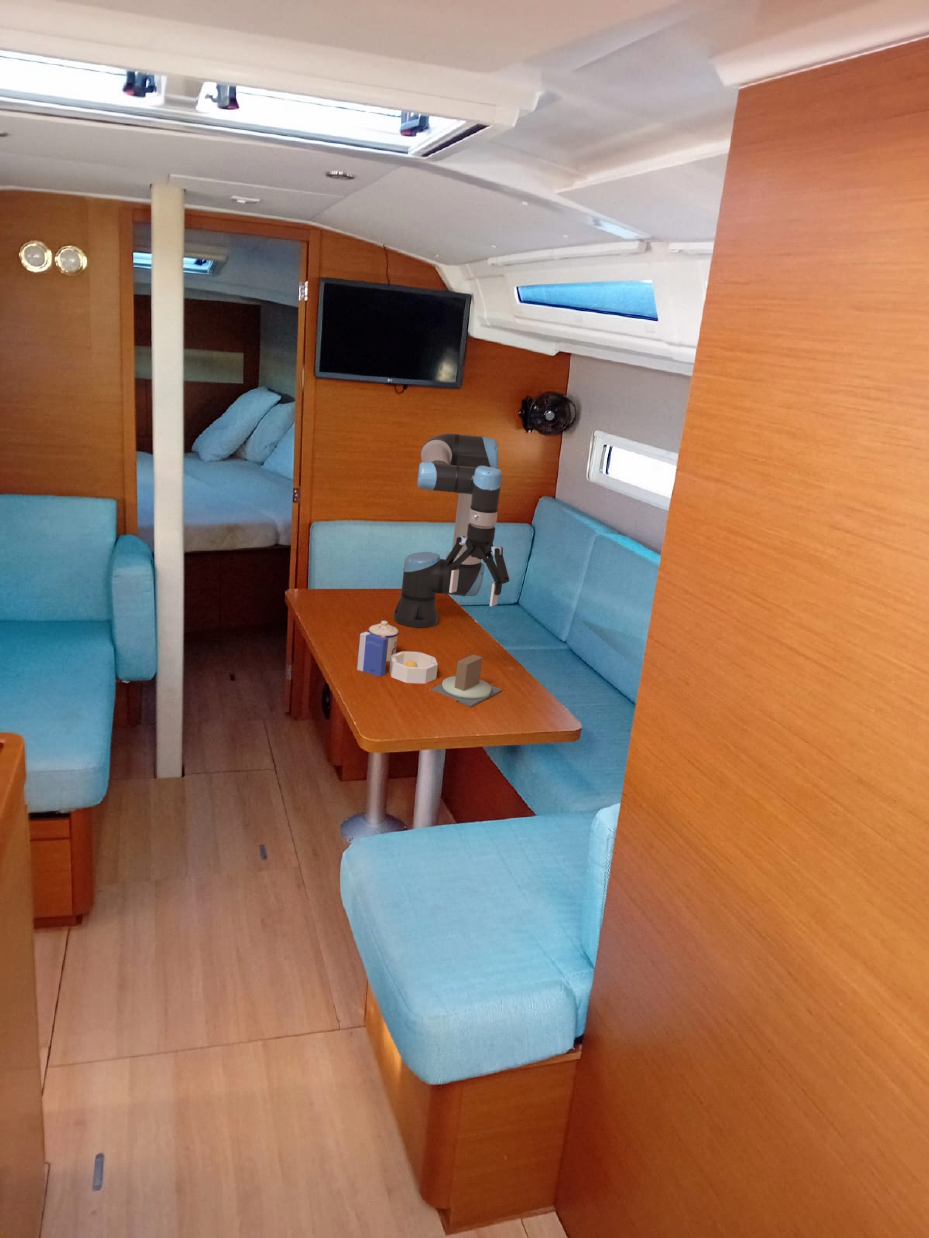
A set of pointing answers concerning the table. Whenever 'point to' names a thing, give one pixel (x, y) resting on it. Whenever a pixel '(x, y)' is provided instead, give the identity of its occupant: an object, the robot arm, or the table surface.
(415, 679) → the bowl
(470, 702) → the mat
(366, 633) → the walkman
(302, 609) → the table surface
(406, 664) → the clementine
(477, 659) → the lid
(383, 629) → the teacup with lid
